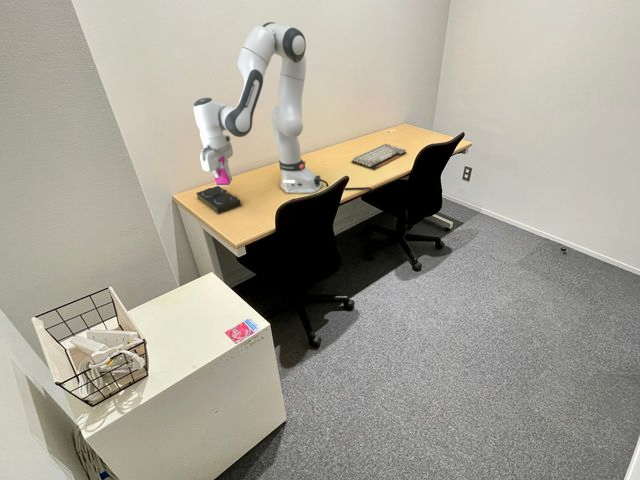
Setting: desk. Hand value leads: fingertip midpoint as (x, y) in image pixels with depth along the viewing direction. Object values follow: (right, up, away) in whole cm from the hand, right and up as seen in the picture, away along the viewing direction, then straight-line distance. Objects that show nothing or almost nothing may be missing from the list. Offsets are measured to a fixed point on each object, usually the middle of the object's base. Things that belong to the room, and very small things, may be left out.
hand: (221, 173), depth 145 cm
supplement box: (0, -3, +3) cm, 4 cm away
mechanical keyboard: (+75, +30, +68) cm, 106 cm away
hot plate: (-9, -9, +19) cm, 23 cm away
